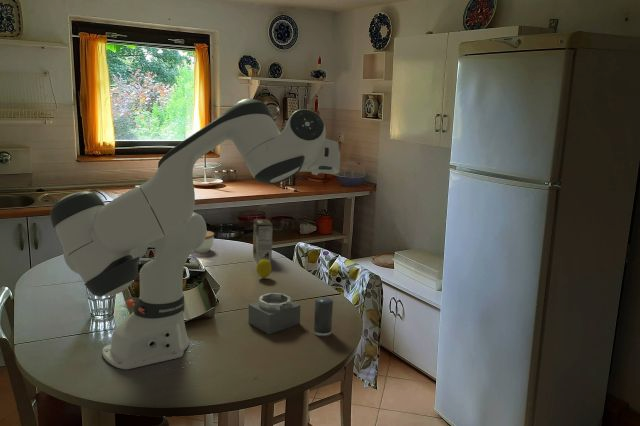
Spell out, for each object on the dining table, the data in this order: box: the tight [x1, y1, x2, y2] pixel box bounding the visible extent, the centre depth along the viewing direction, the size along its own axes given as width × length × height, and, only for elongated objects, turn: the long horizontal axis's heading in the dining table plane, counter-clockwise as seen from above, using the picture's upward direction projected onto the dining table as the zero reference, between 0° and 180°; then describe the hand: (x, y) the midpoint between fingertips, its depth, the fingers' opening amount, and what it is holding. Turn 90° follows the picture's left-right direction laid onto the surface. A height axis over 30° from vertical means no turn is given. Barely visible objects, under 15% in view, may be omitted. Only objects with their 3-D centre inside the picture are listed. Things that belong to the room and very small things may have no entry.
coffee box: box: [252, 218, 274, 264], centre depth 228 cm, size 9×6×16 cm
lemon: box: [256, 258, 272, 280], centre depth 207 cm, size 6×6×8 cm
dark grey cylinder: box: [313, 296, 334, 338], centre depth 163 cm, size 5×5×10 cm
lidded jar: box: [193, 230, 215, 254], centre depth 236 cm, size 11×11×9 cm
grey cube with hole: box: [247, 292, 301, 335], centre depth 169 cm, size 12×10×8 cm
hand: (296, 169), depth 140 cm, fingers open, 8 cm apart
